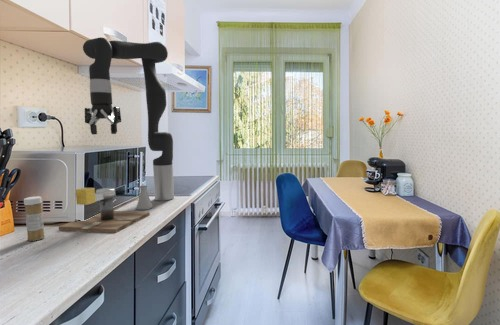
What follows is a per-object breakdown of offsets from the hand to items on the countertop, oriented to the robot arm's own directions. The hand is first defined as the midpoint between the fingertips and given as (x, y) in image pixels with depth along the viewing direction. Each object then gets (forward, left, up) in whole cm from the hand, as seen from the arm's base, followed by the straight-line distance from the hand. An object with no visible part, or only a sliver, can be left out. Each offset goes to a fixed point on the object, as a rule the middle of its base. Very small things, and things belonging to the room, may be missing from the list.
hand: (104, 134), depth 119 cm
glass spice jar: (+8, +5, -32) cm, 33 cm away
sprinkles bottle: (+28, -6, -33) cm, 44 cm away
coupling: (+12, +5, -23) cm, 27 cm away
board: (+8, +5, -33) cm, 34 cm away
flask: (-13, +8, -33) cm, 36 cm away
